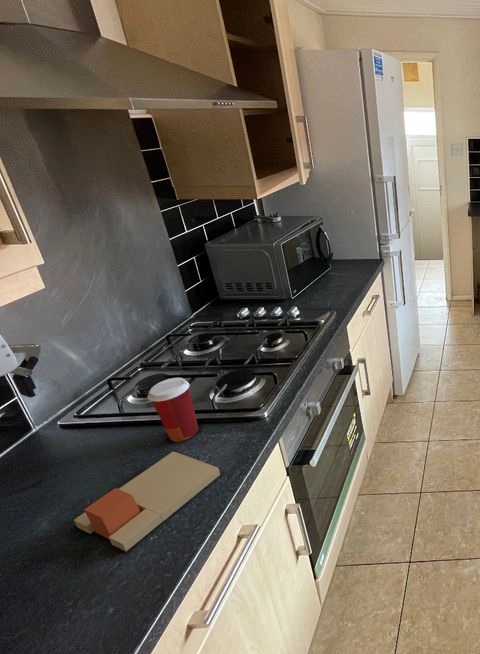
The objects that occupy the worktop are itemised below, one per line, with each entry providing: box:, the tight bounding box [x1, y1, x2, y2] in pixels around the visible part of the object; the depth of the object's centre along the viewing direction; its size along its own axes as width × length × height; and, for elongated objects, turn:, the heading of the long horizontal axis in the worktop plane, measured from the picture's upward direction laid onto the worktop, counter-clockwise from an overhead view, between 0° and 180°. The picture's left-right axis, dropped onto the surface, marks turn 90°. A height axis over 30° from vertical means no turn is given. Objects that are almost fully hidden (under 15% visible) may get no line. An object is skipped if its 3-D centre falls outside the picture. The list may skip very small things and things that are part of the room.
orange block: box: [83, 487, 141, 540], centre depth 78 cm, size 5×5×6 cm
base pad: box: [73, 451, 221, 552], centre depth 84 cm, size 18×14×2 cm
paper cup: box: [147, 377, 199, 443], centre depth 99 cm, size 8×8×14 cm
